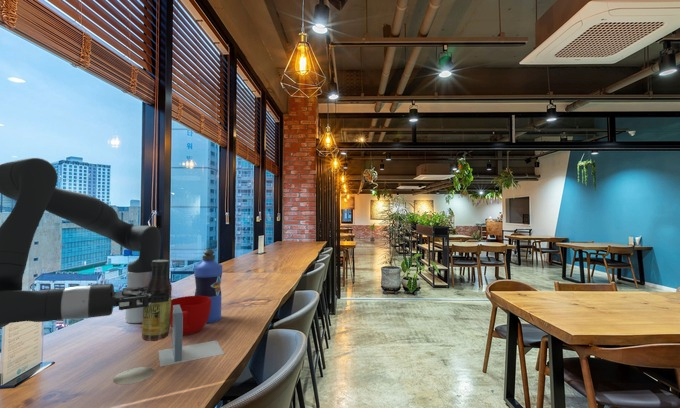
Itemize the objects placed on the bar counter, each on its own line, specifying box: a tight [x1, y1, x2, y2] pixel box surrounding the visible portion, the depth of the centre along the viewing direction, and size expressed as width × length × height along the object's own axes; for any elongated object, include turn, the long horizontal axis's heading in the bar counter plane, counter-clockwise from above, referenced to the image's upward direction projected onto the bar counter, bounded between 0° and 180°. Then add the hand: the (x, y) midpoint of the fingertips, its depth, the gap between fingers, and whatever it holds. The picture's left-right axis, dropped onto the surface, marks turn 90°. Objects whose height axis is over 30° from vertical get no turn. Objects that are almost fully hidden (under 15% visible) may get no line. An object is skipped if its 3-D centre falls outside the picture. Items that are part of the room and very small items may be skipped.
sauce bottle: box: [141, 259, 173, 342], centre depth 87 cm, size 6×6×20 cm
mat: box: [158, 340, 225, 368], centre depth 90 cm, size 15×11×1 cm
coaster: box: [112, 366, 155, 385], centre depth 77 cm, size 8×8×1 cm
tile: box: [171, 305, 183, 362], centre depth 89 cm, size 2×9×12 cm, turn 30°
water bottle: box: [194, 248, 223, 324], centre depth 120 cm, size 9×9×25 cm
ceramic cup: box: [169, 295, 211, 336], centre depth 105 cm, size 13×17×10 cm
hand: (167, 293), depth 88 cm, fingers closed on sauce bottle, 6 cm apart
